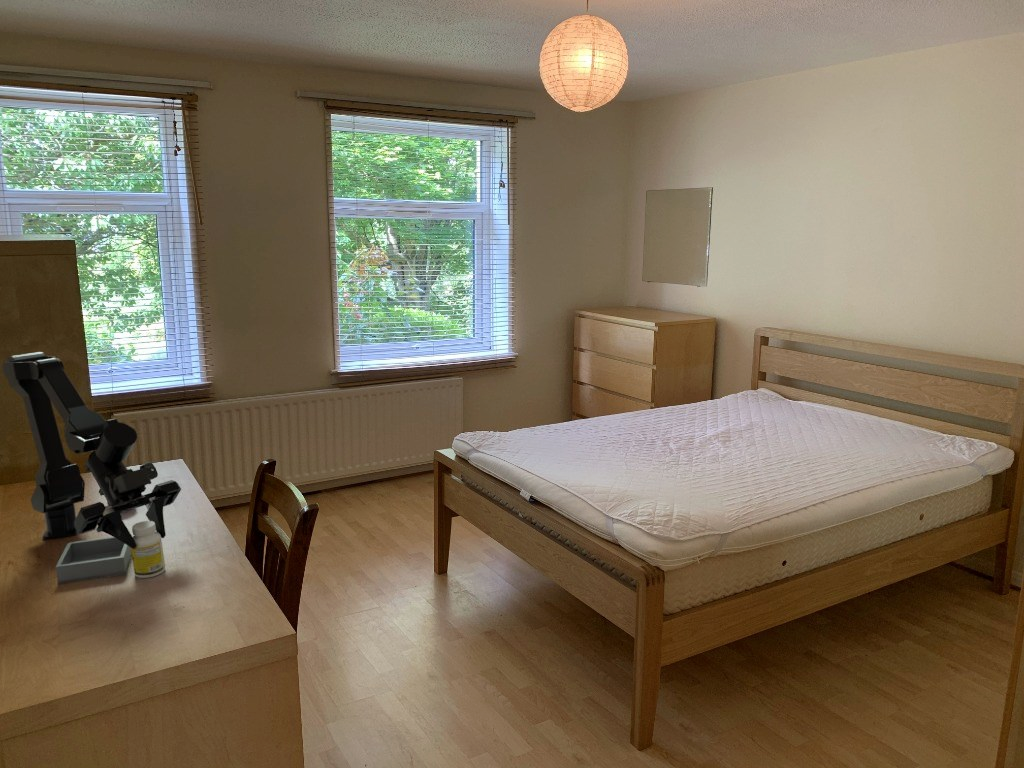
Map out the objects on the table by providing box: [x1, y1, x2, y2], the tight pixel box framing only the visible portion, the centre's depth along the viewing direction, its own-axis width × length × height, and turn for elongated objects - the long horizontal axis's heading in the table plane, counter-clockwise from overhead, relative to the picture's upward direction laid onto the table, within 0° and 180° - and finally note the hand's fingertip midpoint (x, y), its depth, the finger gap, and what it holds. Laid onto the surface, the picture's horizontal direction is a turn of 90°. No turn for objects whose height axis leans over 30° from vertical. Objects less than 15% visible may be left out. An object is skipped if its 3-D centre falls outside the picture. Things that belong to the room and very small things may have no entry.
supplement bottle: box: [131, 520, 166, 579], centre depth 144 cm, size 5×5×10 cm
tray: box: [55, 536, 132, 585], centre depth 148 cm, size 11×11×4 cm
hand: (149, 542), depth 143 cm, fingers closed on supplement bottle, 5 cm apart
